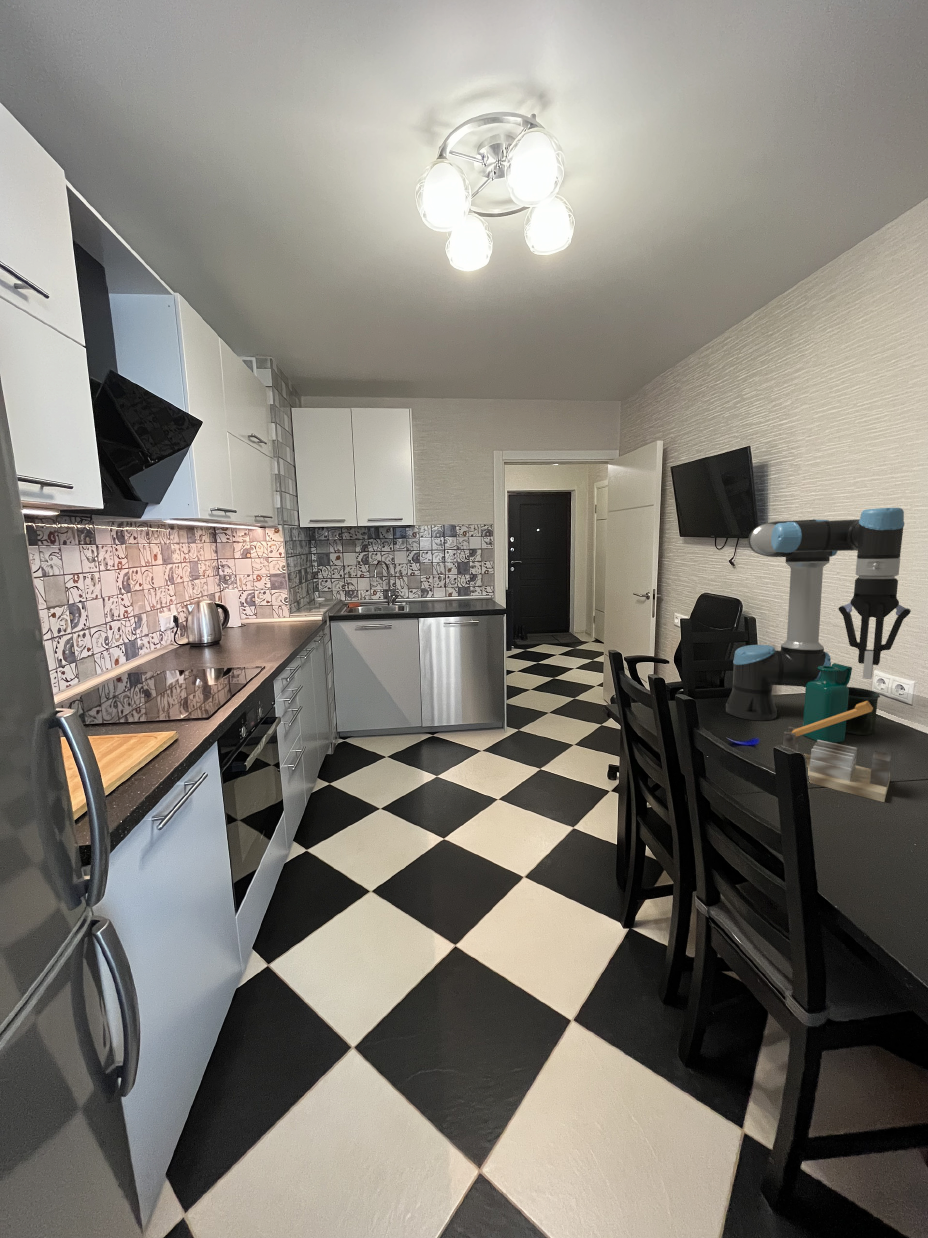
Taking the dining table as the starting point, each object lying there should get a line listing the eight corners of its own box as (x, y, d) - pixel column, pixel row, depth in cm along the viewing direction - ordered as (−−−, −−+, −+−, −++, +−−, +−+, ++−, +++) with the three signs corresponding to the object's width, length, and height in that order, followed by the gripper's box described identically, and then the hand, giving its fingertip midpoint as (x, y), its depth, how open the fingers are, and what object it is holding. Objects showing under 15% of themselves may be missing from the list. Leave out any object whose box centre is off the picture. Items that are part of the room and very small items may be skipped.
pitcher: (824, 745, 140) (830, 671, 137) (798, 734, 148) (803, 664, 145) (852, 741, 142) (858, 668, 138) (825, 730, 150) (830, 661, 147)
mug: (838, 734, 147) (841, 696, 145) (822, 717, 160) (825, 682, 159) (883, 738, 143) (886, 699, 141) (863, 721, 157) (866, 685, 155)
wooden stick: (793, 737, 125) (788, 730, 125) (796, 734, 127) (791, 727, 127) (871, 711, 113) (866, 703, 113) (873, 708, 115) (867, 700, 116)
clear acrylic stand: (776, 773, 124) (778, 736, 123) (788, 757, 133) (791, 722, 132) (884, 802, 110) (888, 760, 108) (889, 781, 119) (893, 742, 117)
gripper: (837, 577, 113) (830, 676, 116) (914, 578, 103) (903, 686, 107) (843, 575, 118) (835, 670, 121) (916, 576, 109) (905, 679, 112)
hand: (867, 677), depth 114 cm, fingers closed
